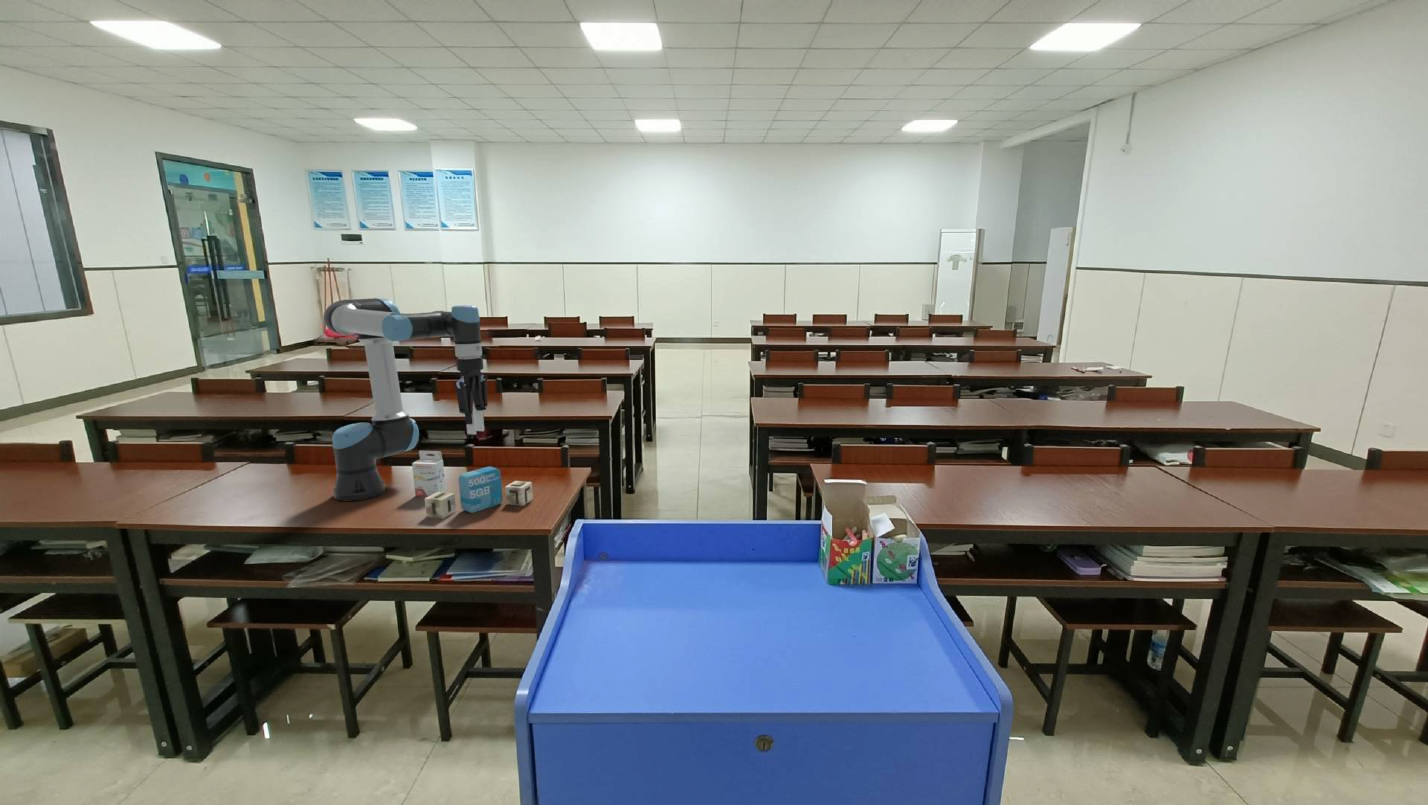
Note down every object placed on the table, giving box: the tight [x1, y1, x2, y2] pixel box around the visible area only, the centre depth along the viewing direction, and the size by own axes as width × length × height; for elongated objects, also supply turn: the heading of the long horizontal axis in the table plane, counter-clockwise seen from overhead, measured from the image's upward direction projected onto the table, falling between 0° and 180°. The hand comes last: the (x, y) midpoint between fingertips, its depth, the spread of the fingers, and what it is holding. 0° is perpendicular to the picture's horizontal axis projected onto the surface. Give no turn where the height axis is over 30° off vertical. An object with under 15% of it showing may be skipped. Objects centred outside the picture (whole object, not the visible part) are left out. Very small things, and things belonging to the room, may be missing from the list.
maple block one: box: [424, 492, 457, 520], centre depth 191 cm, size 6×6×6 cm
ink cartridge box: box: [411, 450, 447, 498], centre depth 207 cm, size 9×5×15 cm, turn 84°
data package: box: [458, 466, 504, 514], centre depth 196 cm, size 12×4×12 cm, turn 141°
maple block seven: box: [504, 480, 534, 507], centre depth 201 cm, size 6×6×6 cm
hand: (475, 432), depth 192 cm, fingers open, 3 cm apart
